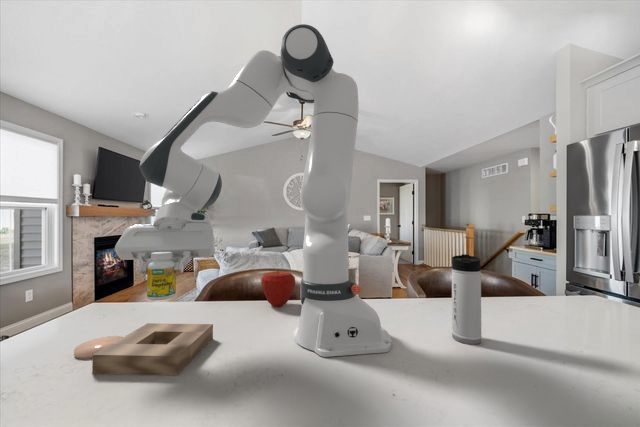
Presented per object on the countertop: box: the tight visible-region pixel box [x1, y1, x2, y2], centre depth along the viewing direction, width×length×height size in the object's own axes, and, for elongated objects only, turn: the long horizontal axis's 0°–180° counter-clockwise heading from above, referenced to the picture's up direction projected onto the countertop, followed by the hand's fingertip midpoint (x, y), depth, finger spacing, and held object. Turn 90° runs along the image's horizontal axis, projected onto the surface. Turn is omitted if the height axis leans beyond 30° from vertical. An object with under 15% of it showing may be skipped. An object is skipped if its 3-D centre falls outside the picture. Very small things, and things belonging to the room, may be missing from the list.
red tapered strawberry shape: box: [260, 269, 296, 308], centre depth 95 cm, size 11×11×12 cm
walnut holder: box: [91, 322, 214, 376], centre depth 60 cm, size 16×16×4 cm
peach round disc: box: [73, 335, 124, 360], centre depth 63 cm, size 9×9×1 cm
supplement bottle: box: [146, 252, 177, 302], centre depth 61 cm, size 5×5×10 cm
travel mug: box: [451, 253, 482, 345], centre depth 69 cm, size 6×7×20 cm
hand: (161, 271), depth 60 cm, fingers closed on supplement bottle, 5 cm apart
